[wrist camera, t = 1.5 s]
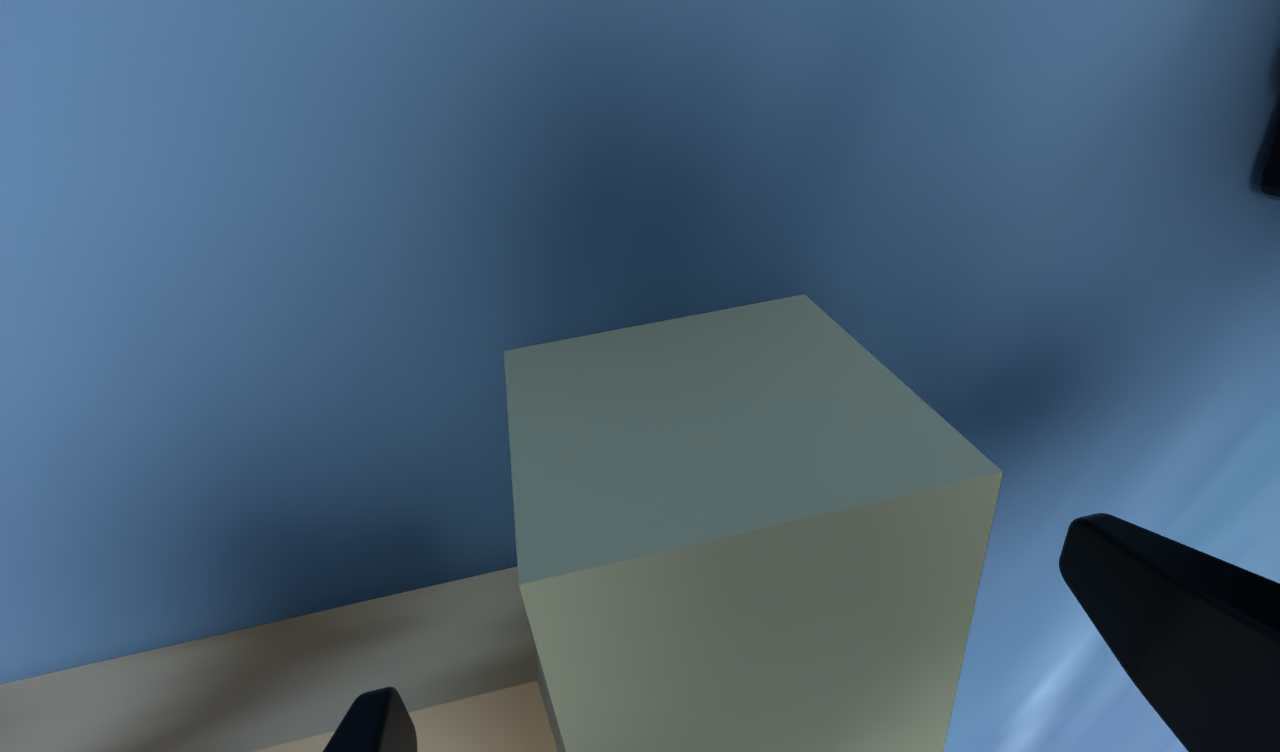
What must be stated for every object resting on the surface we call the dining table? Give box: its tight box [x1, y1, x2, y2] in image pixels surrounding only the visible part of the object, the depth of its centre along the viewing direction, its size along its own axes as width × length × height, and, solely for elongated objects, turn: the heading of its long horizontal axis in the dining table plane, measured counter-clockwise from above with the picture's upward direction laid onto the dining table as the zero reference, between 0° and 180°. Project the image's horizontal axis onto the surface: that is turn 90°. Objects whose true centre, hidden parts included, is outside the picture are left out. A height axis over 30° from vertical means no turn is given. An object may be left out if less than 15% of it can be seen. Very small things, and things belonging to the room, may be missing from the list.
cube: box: [504, 294, 1003, 752], centre depth 10 cm, size 5×5×5 cm
